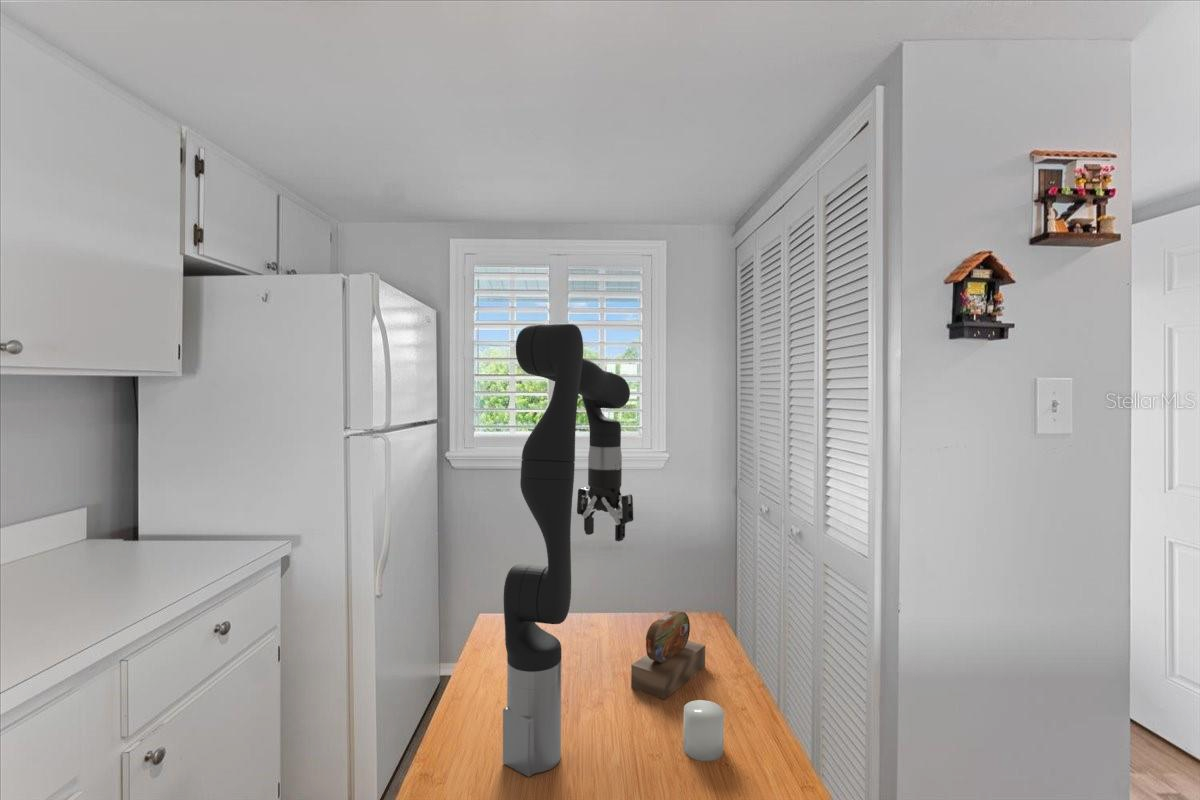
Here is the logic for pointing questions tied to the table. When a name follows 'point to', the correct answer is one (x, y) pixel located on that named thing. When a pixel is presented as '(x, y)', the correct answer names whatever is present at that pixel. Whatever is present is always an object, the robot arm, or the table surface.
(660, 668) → the brown rectangular block
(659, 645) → the tin
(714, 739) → the white rounded capsule
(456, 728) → the table surface
